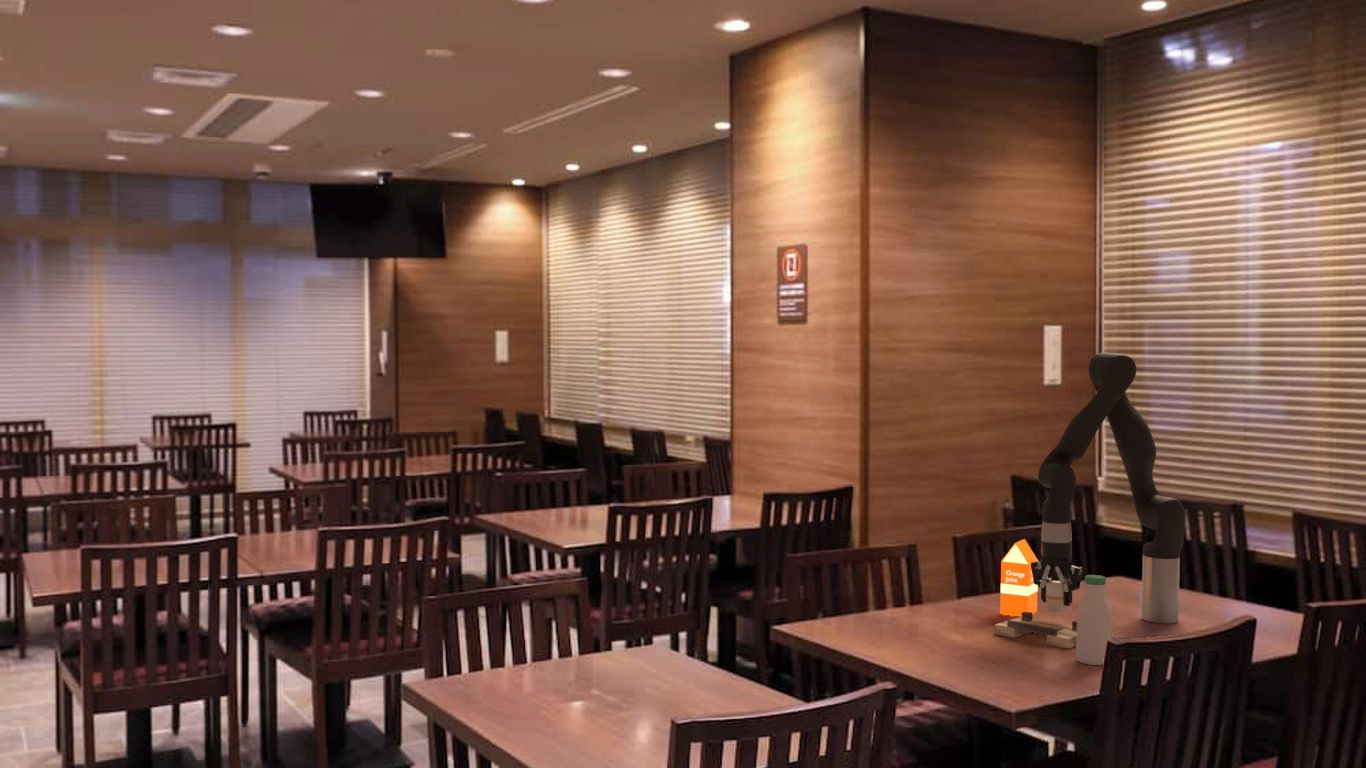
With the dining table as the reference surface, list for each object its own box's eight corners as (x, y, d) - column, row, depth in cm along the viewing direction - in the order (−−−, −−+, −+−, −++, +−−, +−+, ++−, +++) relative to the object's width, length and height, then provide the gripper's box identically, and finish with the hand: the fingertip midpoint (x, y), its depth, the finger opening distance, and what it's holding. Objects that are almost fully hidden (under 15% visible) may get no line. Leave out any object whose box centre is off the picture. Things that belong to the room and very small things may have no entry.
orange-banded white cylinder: (1052, 606, 319) (1052, 579, 319) (1071, 609, 315) (1071, 582, 315) (1041, 609, 315) (1041, 582, 315) (1060, 612, 311) (1060, 585, 311)
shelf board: (1020, 625, 316) (1021, 609, 316) (1093, 639, 302) (1093, 622, 302) (994, 633, 307) (994, 616, 307) (1067, 648, 293) (1068, 630, 293)
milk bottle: (1113, 667, 277) (1115, 580, 276) (1078, 665, 278) (1080, 578, 277) (1108, 658, 284) (1110, 574, 283) (1074, 656, 286) (1076, 572, 285)
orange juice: (1037, 612, 333) (1039, 539, 332) (1028, 618, 325) (1029, 544, 325) (1009, 608, 337) (1010, 537, 336) (999, 614, 330) (1000, 541, 329)
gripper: (1089, 540, 312) (1089, 605, 313) (1038, 534, 322) (1038, 597, 323) (1075, 544, 307) (1075, 610, 307) (1024, 537, 317) (1024, 602, 318)
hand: (1056, 603), depth 315 cm, fingers closed on orange-banded white cylinder, 5 cm apart
